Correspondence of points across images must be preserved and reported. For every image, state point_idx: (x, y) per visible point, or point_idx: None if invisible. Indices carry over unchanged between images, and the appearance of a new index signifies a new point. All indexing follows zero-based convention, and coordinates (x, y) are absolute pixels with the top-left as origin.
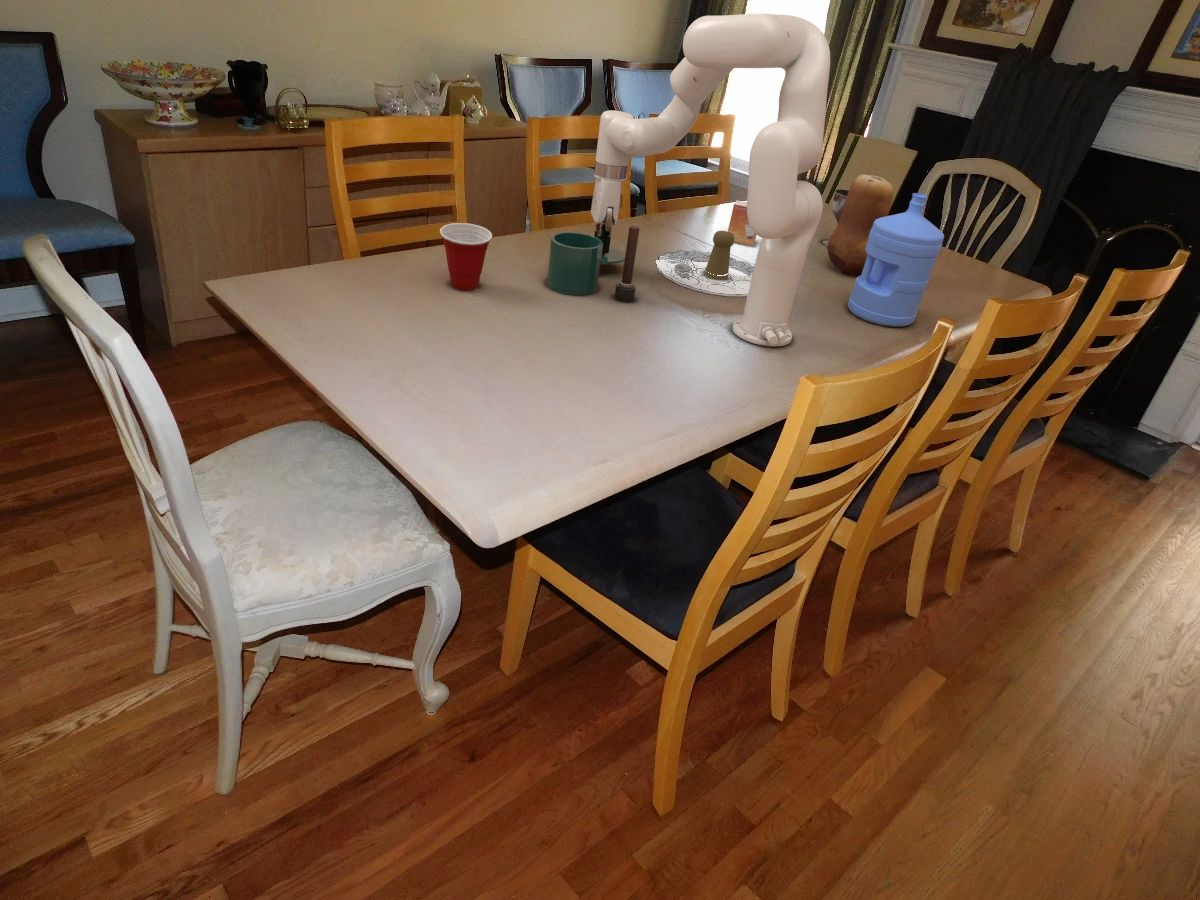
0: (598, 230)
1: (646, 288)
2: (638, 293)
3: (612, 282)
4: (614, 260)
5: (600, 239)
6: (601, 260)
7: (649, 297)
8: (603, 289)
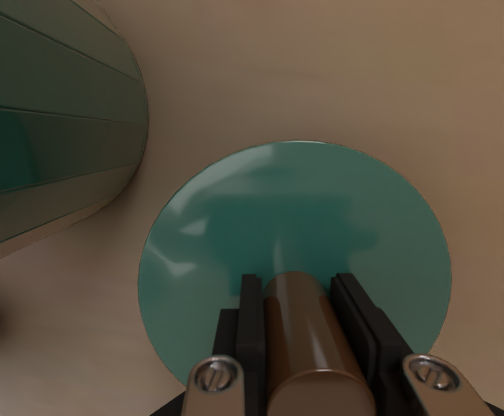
0: (351, 382)
1: (103, 408)
2: (39, 373)
3: (131, 295)
4: (171, 357)
5: (234, 351)
6: (149, 288)
7: (12, 403)
8: (34, 247)
